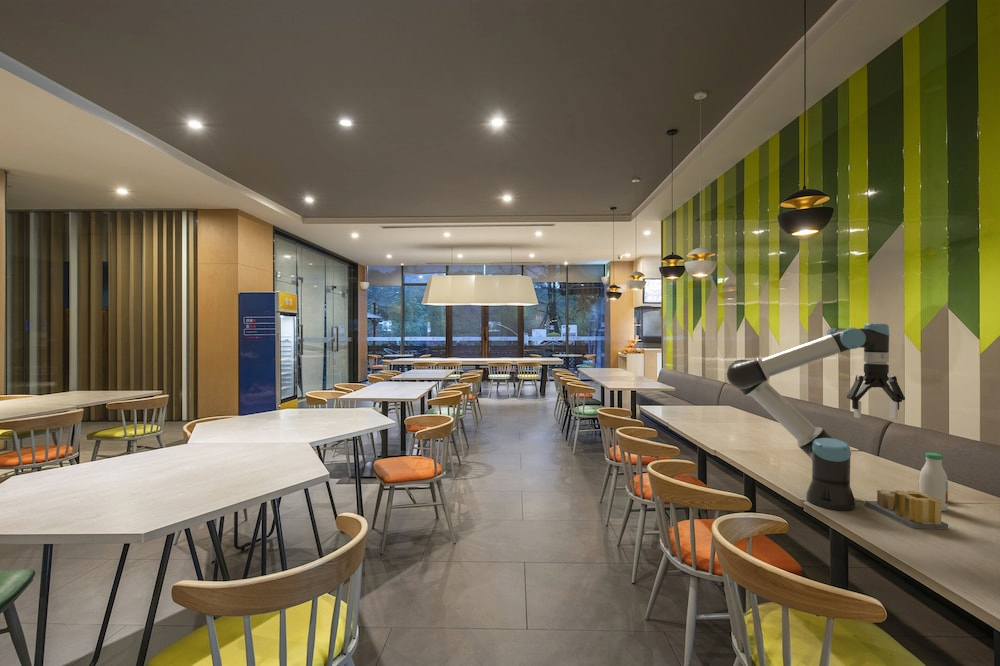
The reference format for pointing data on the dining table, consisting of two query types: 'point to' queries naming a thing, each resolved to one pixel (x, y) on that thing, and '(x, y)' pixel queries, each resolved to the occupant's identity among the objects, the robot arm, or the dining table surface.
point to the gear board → (887, 507)
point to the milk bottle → (934, 479)
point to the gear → (918, 507)
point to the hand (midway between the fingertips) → (875, 418)
